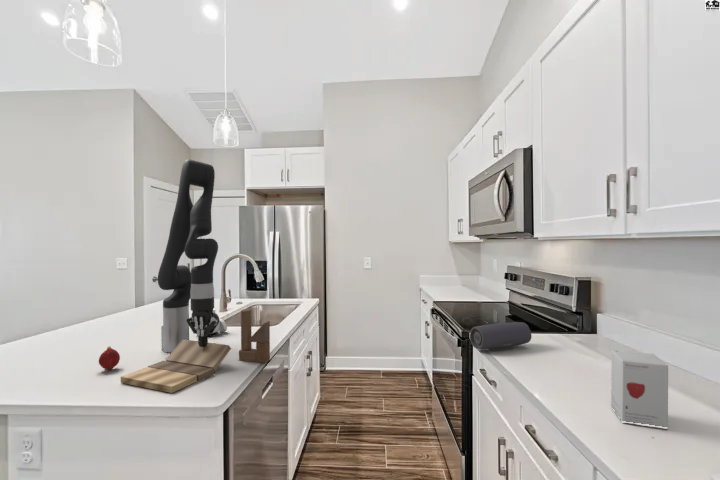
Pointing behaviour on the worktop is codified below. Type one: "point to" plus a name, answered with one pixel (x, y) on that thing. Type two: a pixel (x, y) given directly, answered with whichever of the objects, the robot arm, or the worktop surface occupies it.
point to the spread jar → (220, 326)
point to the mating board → (185, 369)
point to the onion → (109, 358)
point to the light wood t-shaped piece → (254, 340)
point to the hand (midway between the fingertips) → (203, 346)
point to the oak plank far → (199, 354)
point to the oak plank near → (159, 379)
